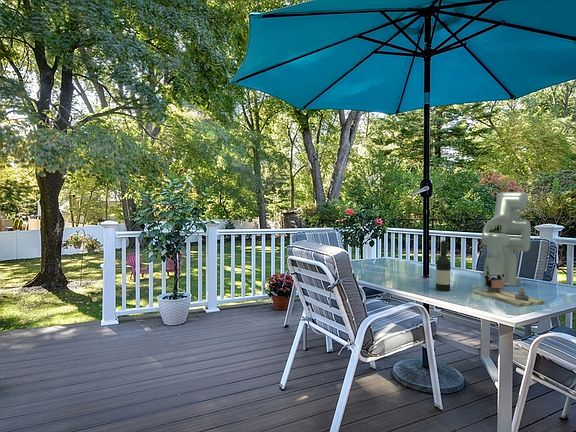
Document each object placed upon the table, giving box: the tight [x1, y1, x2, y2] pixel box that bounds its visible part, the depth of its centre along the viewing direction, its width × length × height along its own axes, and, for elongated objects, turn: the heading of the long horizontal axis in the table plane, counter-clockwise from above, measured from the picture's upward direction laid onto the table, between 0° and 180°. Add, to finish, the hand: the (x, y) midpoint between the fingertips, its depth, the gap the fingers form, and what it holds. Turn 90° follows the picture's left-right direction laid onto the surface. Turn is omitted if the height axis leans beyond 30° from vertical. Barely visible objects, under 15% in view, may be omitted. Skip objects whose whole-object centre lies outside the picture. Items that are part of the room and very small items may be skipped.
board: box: [472, 276, 546, 307], centre depth 204 cm, size 18×30×10 cm, turn 17°
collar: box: [483, 278, 505, 289], centre depth 212 cm, size 7×7×4 cm
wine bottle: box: [435, 240, 452, 293], centre depth 222 cm, size 8×8×30 cm
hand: (493, 285), depth 213 cm, fingers closed on collar, 7 cm apart
